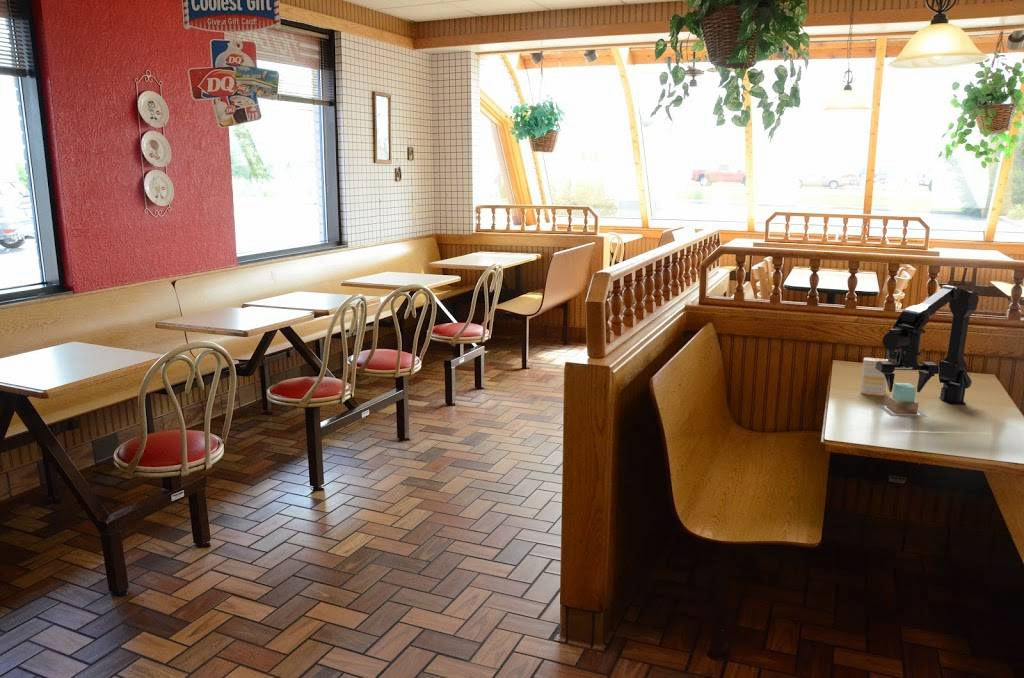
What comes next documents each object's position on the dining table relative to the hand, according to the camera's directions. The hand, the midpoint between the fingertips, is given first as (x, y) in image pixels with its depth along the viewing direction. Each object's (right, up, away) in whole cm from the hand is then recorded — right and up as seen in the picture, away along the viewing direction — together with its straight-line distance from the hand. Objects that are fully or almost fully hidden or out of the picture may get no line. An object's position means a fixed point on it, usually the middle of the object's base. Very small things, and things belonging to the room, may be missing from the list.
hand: (904, 391), depth 267 cm
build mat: (0, -7, +2) cm, 7 cm away
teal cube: (0, -3, 0) cm, 3 cm away
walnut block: (0, -6, +2) cm, 7 cm away
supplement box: (-1, -2, +21) cm, 21 cm away
